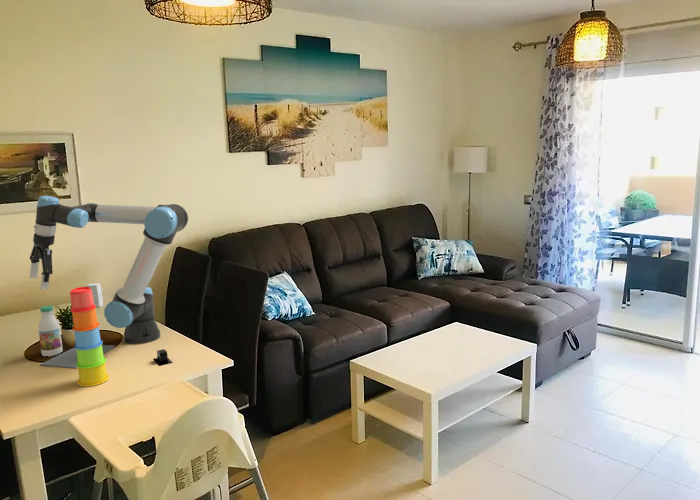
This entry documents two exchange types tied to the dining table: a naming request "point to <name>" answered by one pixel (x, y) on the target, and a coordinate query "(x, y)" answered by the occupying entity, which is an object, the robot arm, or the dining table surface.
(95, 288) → the skincare box
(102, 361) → the stacking cups
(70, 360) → the slate mat
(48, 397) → the dining table surface
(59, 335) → the milk bottle
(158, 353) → the black block on base
